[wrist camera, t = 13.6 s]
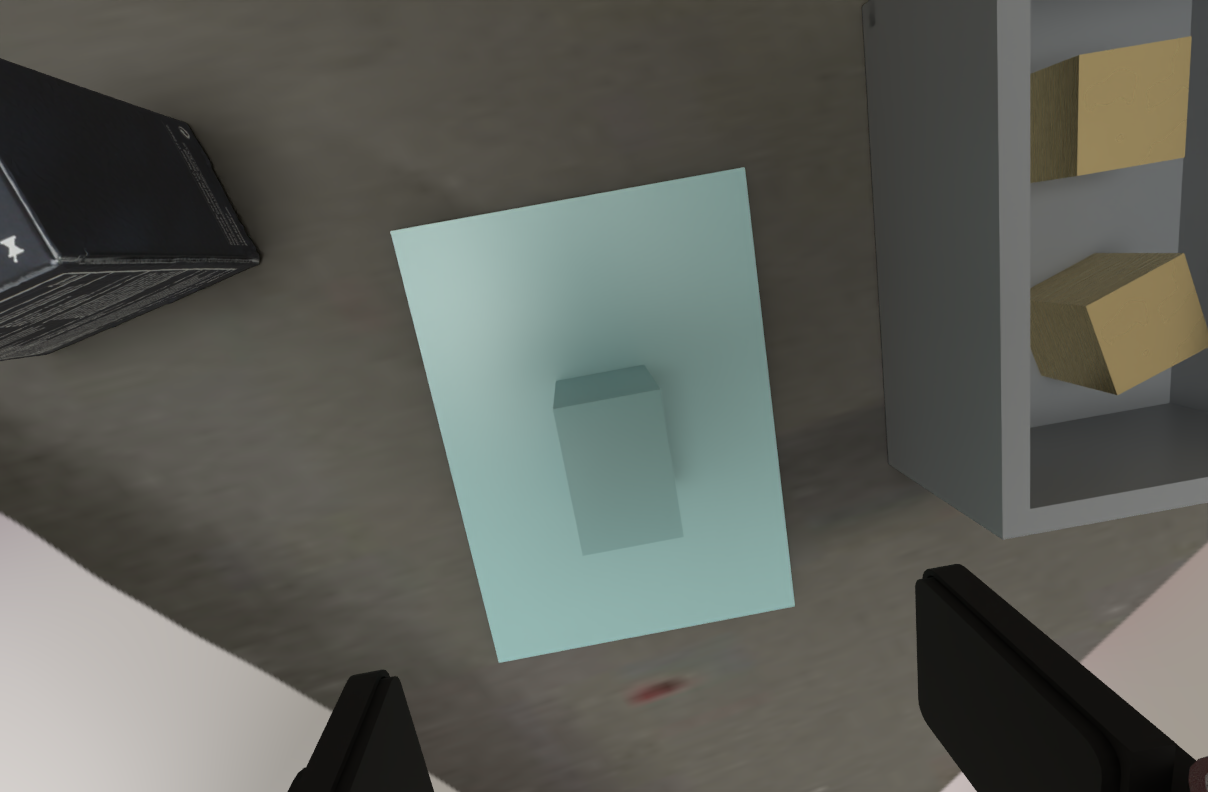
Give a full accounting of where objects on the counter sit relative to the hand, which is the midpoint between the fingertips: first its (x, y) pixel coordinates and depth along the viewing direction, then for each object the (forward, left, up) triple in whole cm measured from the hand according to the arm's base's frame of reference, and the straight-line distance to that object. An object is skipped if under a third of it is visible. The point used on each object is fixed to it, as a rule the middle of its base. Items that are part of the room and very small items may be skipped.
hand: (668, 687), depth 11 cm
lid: (+1, 0, -19) cm, 19 cm away
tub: (-5, +20, -18) cm, 27 cm away
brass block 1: (-9, +20, -17) cm, 28 cm away
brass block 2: (-1, +21, -17) cm, 27 cm away
